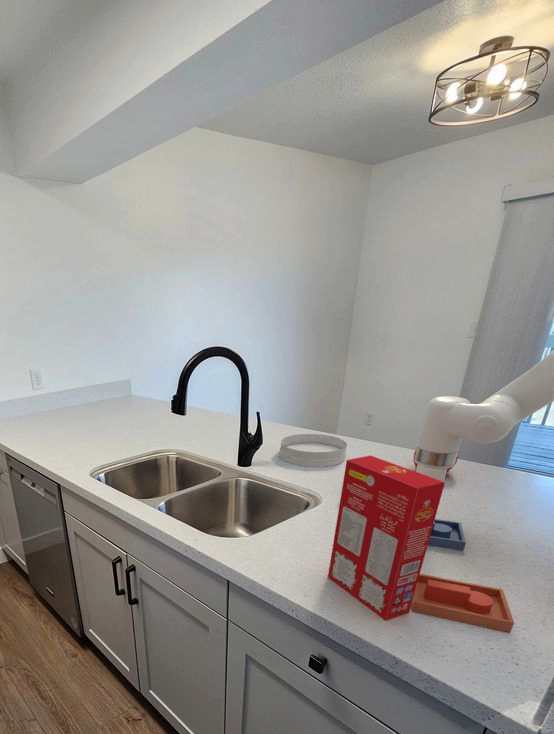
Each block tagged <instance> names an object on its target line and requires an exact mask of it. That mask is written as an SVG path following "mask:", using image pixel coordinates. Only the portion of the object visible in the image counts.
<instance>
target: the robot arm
mask: <svg viewBox="0 0 554 734" xmlns="http://www.w3.org/2000/svg"><path fill="white" fill-rule="evenodd" d="M551 403H554V349H553V350H552V351H550V352H549V353H548V354H546V355H545V356H544V357H543V358H542V359H541V360H540V361H539V362H538V363H536V364H534V366H532V367H531V368H530V369H528V370H526V371H525V372H524V373H522V374H521V375H520V376H518V377H517V378H514V380H512V381H510V383H508V384H506V385H505V386H503V387H502V388H501V389H499V390H498V391H496V392H494V394H492V395H490V396H489V397H488V398H486V399H485V400H483V401H482V402H481V403H475V404H474V403H471V401H470V400H468V399H467V398H464V397H461V396H451V395H448V396H436V397H433V398H431V399H430V401H429V402H428V404H427V406H426V411H425V414H424V418H423V424H422V427H421V430H420V431H421V432H420V435H419V438H418V443H417V446H416V448H417V451H416V455H415V459H414V458H413V462H414V461H415V462H416V463H417V464H418V466H417V469H416V468H415V469H416V470H415V472H418V473H421V474H423V475H426V476H429V477H432V478H434V479H437V480H440V481H443V482H445V478H446V475H447V472H446V471H447V468H451V467H453V466H454V467H455V465H456V464H455V461H456V458H457V455H459V451H460V448H461V444H462V440H463V439H464V440H468V441H471V442H475V443H477V444H478V443H479V444H493V443H497V442H499V441H501V440H503V439H504V438H505V437H507V436H508V435H509V433H510V432H511V431H512V430H513V428H514V427H515V426H516V425H518V424H519V423H520V422H522V421H524V420H525V419H527V418H528V417H530V416H532V415H533V414H535V413H536V412H537V411H540V410H542V409H543V408H545V407H546V406H548V405H550V404H551ZM454 467H453V468H454Z"/></svg>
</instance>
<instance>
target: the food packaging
mask: <svg viewBox="0 0 554 734" xmlns="http://www.w3.org/2000/svg"><path fill="white" fill-rule="evenodd" d="M445 485H446V482H445V481H444V482H443V481H440V480H437V479H434V478H432V477H429V476H426V475H423V474H421V473H418V472H416V470H412V469H410V468H406V467H405V466H401V465H398V464H396V463H392V462H390V461H387V460H385V459H382V458H379V457H376V456H374V455H370V454H369V455H365V456H360V457H356V458H355V457H354V458H349V459H346V463H345V468H344V475H343V481H342V487H341V493H340V499H339V504H338V505H339V506H338V512H337V517H336V524H335V531H334V537H333V542H332V543H333V544H332V548H331V555H330V560H329V567H328V574H327V578H328V579H330V580H331V581H332V582H333V583H335V584H336V585H338V586H339V587H341V588H342V589H343V590H344V591H345V592H347V593H349V595H351V596H353V598H355V599H356V600H357V601H359V602H361V604H363V605H364V606H365V607H367V608H368V609H369V610H371V611H372V612H374V613H375V614H377V615H378V616H379V617H380V618H382V619H383V620H384V621H388V620H391V619H394V618H397V617H400V616H404V615H406V614H409V613H410V610H411V608H412V600H413V596H414V592H415V589H416V585H417V582H418V578H419V574H421V570H422V567H423V563H424V560H425V557H426V552H427V550H428V546H429V545H428V542H429V538H430V535H431V531H432V527H433V524H434V520H435V519H436V516H437V512H438V509H439V506H440V502H441V498H442V495H443V491H444V487H445Z"/></svg>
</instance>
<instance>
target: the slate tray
mask: <svg viewBox="0 0 554 734" xmlns="http://www.w3.org/2000/svg"><path fill="white" fill-rule="evenodd" d="M435 523H439V524H444V525H447V526H449V527H451V528H452V532H451V535H450V537H449V538H440V537H434V536H430V538H429V542H428V545H427V546H433V547H439V548H445V549H446V548H447V549H451V550H458V551H464V550H465V547H466V543H467V542H466V537H465V533H464V529H463V525H462V522H458V521H453V520H445V519H437V518H435Z"/></svg>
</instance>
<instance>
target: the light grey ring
mask: <svg viewBox="0 0 554 734" xmlns="http://www.w3.org/2000/svg"><path fill="white" fill-rule="evenodd" d="M347 445H348V444H347V442H346V441H345V440H344V439H341V438H340V437H337V436H336V437H335V436H334V435H333V436H332V435H329V434H328V435H326V434H319V433H301V434H293V435H288V436H286V437H283V438H282V439H281V441H280V447H279V458H280V459H281V460H282V461H284V462H286V463H289V464H292V465H296V466H300V467H308V468H309V467H310V468H322V467H323V468H324V467H333V466H337V465H340V464H342V463H343V462H345V460H346V456H347Z"/></svg>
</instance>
